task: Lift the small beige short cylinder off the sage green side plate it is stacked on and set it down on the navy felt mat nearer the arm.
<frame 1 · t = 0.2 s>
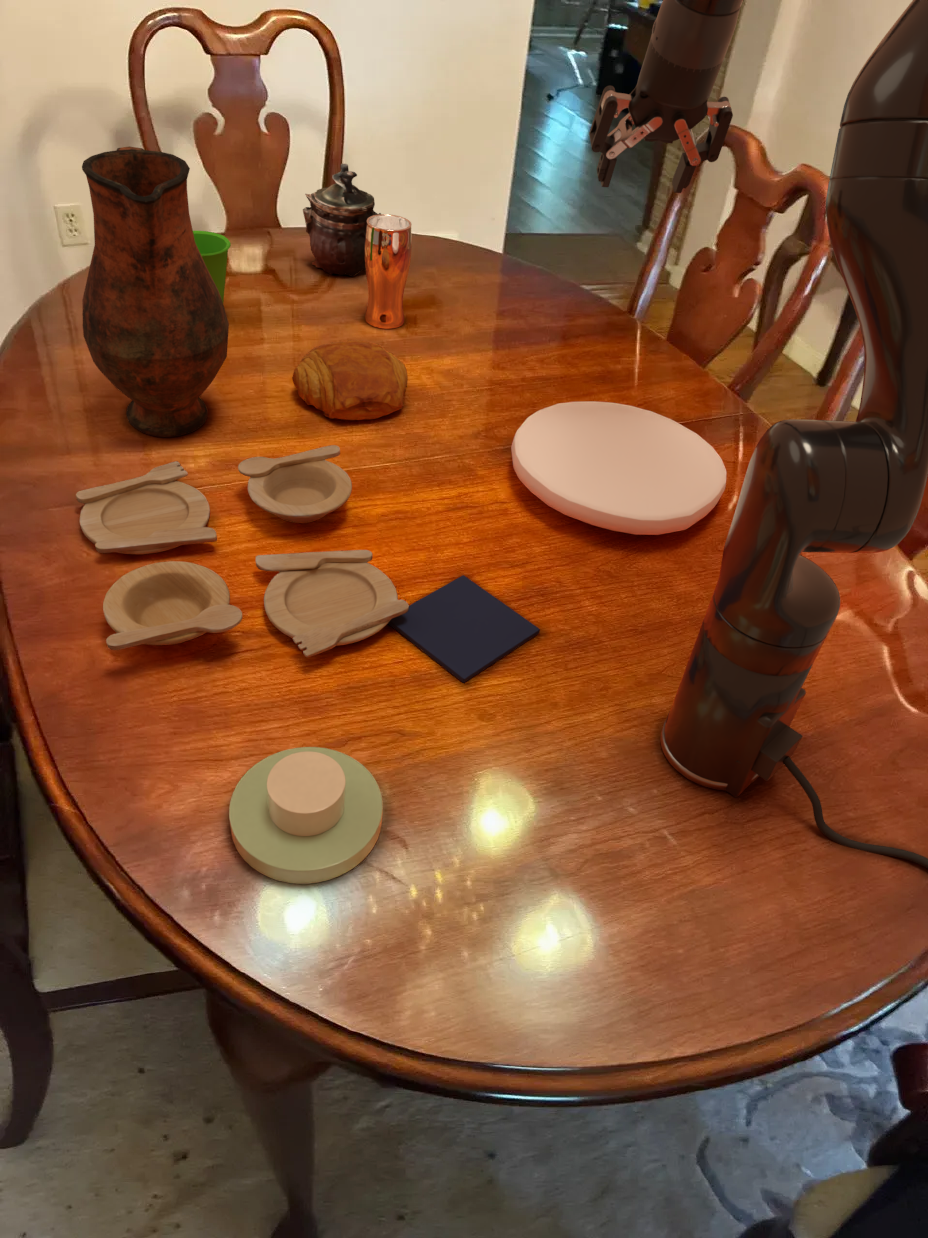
hand: (640, 185, 105), 31 cm above the table, tool tilted 20°, fingers open, 8 cm apart
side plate: (307, 818, 74), on the table, touching beige short cylinder
cup: (204, 316, 139), on the table
beige short cylinder: (306, 804, 73), point 2 cm above the table, touching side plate
pitcher: (166, 408, 119), on the table
white thick round disc: (612, 484, 116), on the table
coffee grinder: (344, 272, 157), on the table
croissant: (352, 399, 125), on the table
felt mat: (463, 628, 93), on the table
beer glass: (384, 321, 144), on the table
tableware set: (237, 562, 97), on the table, touching felt mat
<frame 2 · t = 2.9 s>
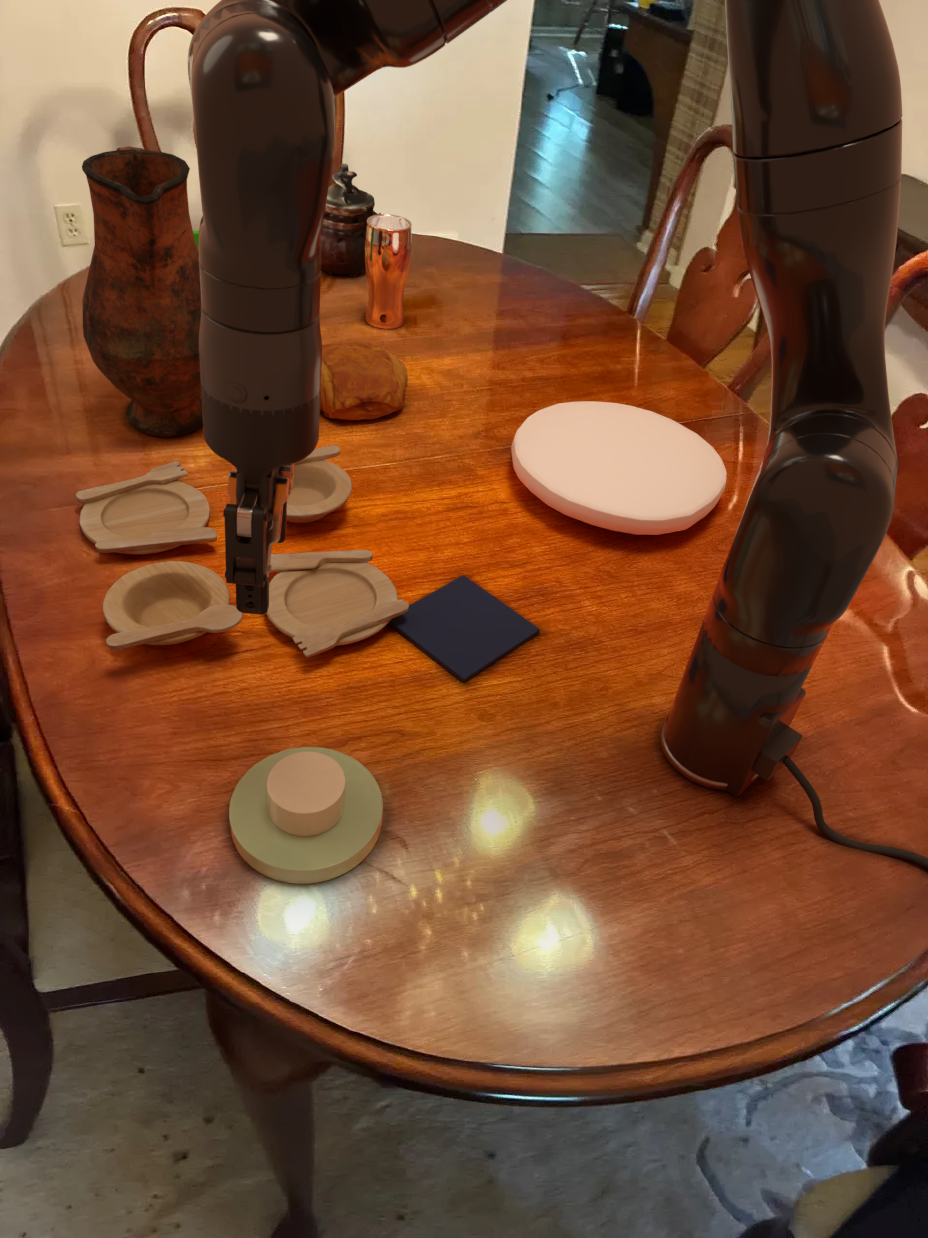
hand: (262, 573, 69), 17 cm above the table, tool pointing down, fingers open, 8 cm apart
nothing on the table moved.
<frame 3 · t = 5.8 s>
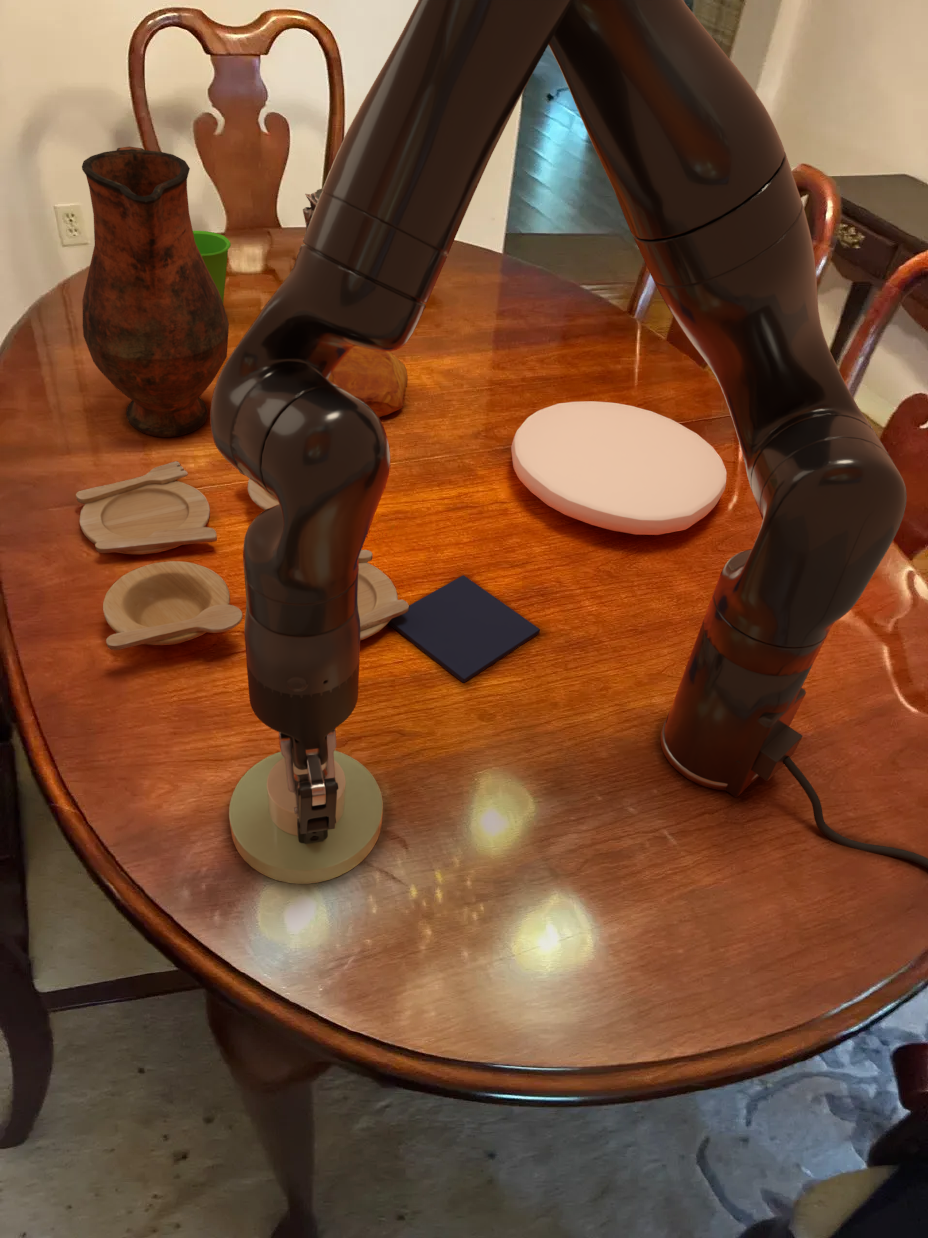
hand: (306, 802, 73), 2 cm above the table, tool pointing down, fingers closed on beige short cylinder, 6 cm apart
beige short cylinder: (306, 804, 73), point 2 cm above the table, touching gripper, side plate
everything else where it was.
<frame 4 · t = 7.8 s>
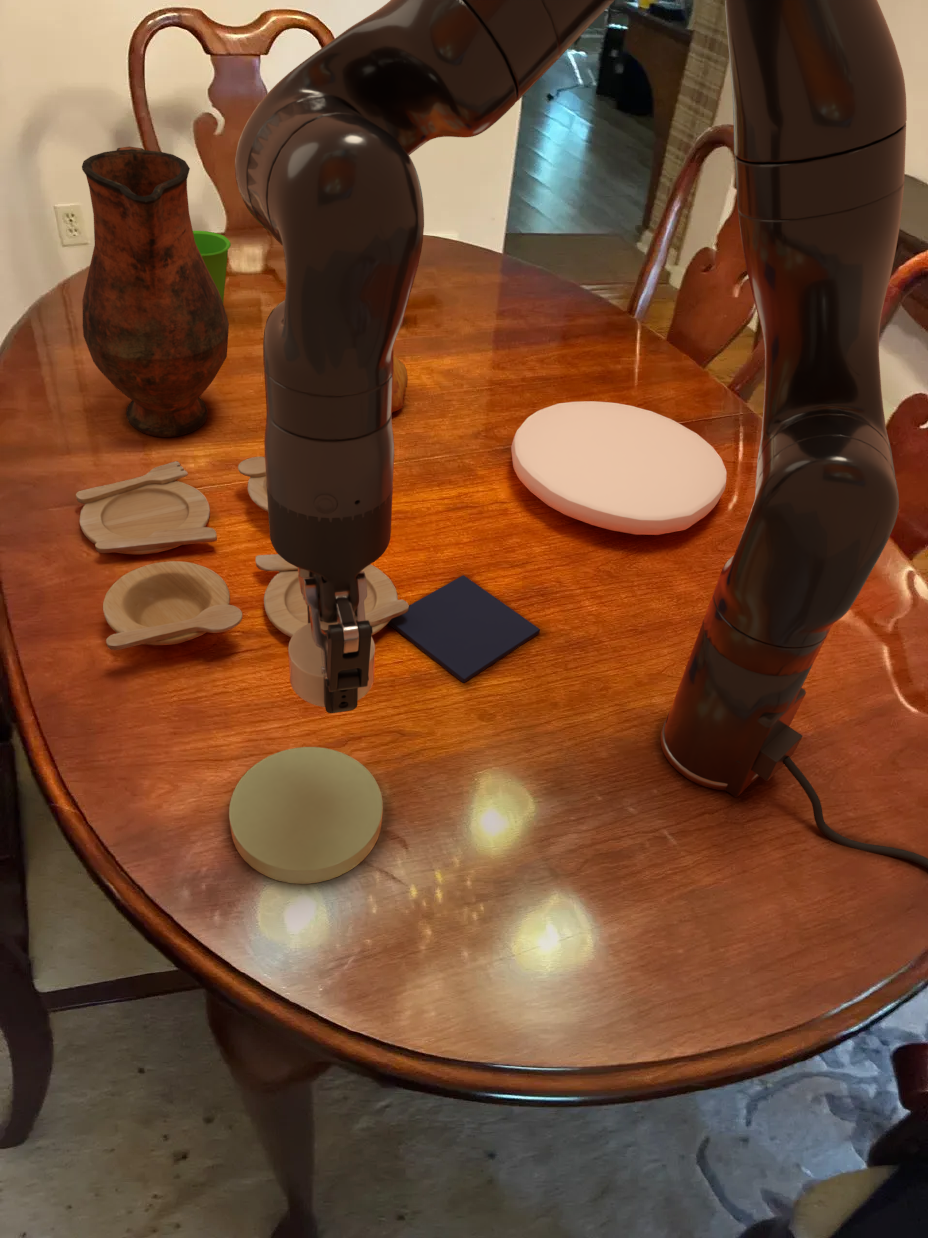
hand: (332, 674, 66), 15 cm above the table, tool pointing down, fingers closed on beige short cylinder, 6 cm apart
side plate: (307, 818, 74), on the table
beige short cylinder: (332, 677, 66), point 14 cm above the table, touching gripper
everything else where it was.
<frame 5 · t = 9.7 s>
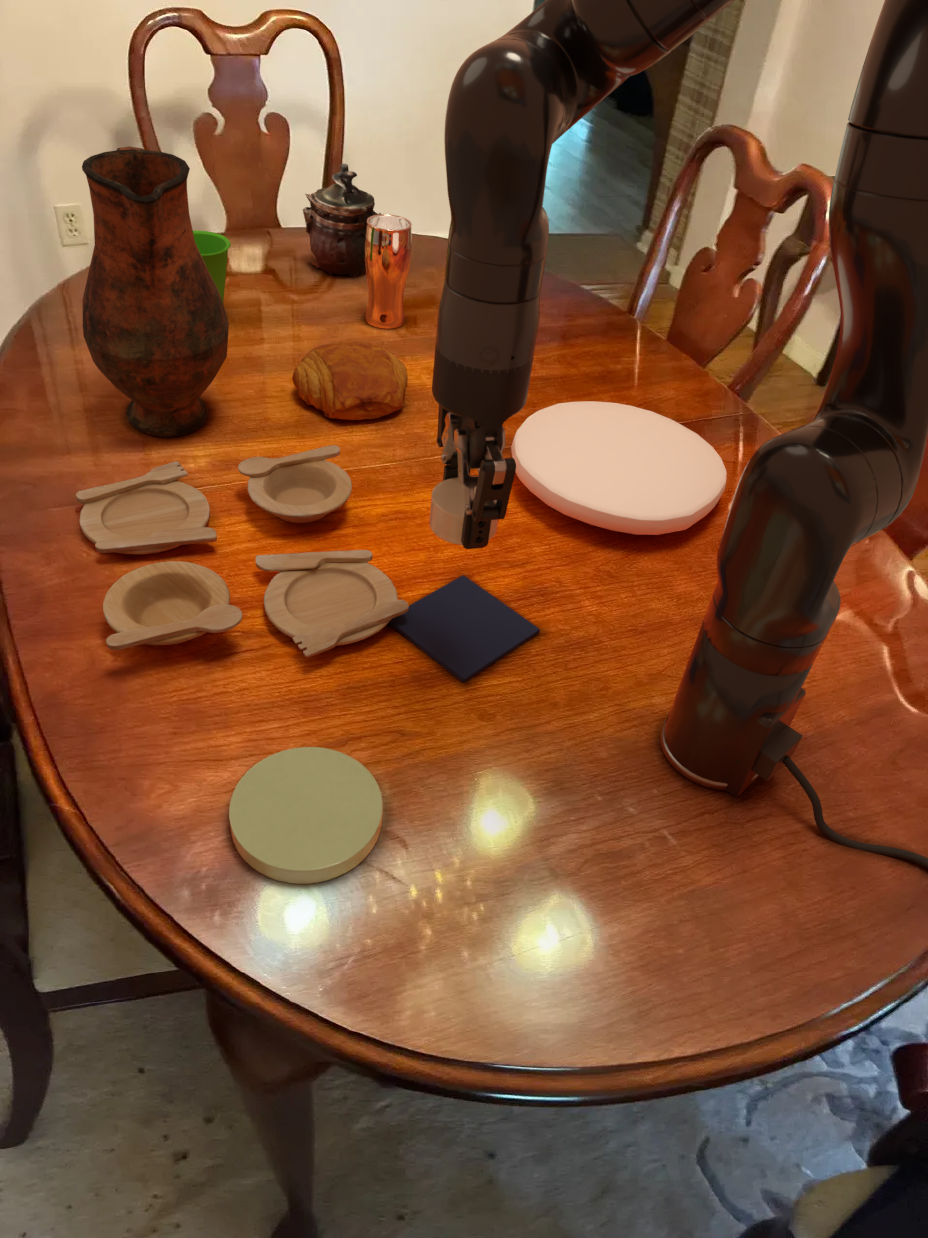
hand: (463, 522, 81), 15 cm above the table, tool pointing down, fingers closed on beige short cylinder, 6 cm apart
beige short cylinder: (463, 524, 81), point 15 cm above the table, touching gripper
everything else where it was.
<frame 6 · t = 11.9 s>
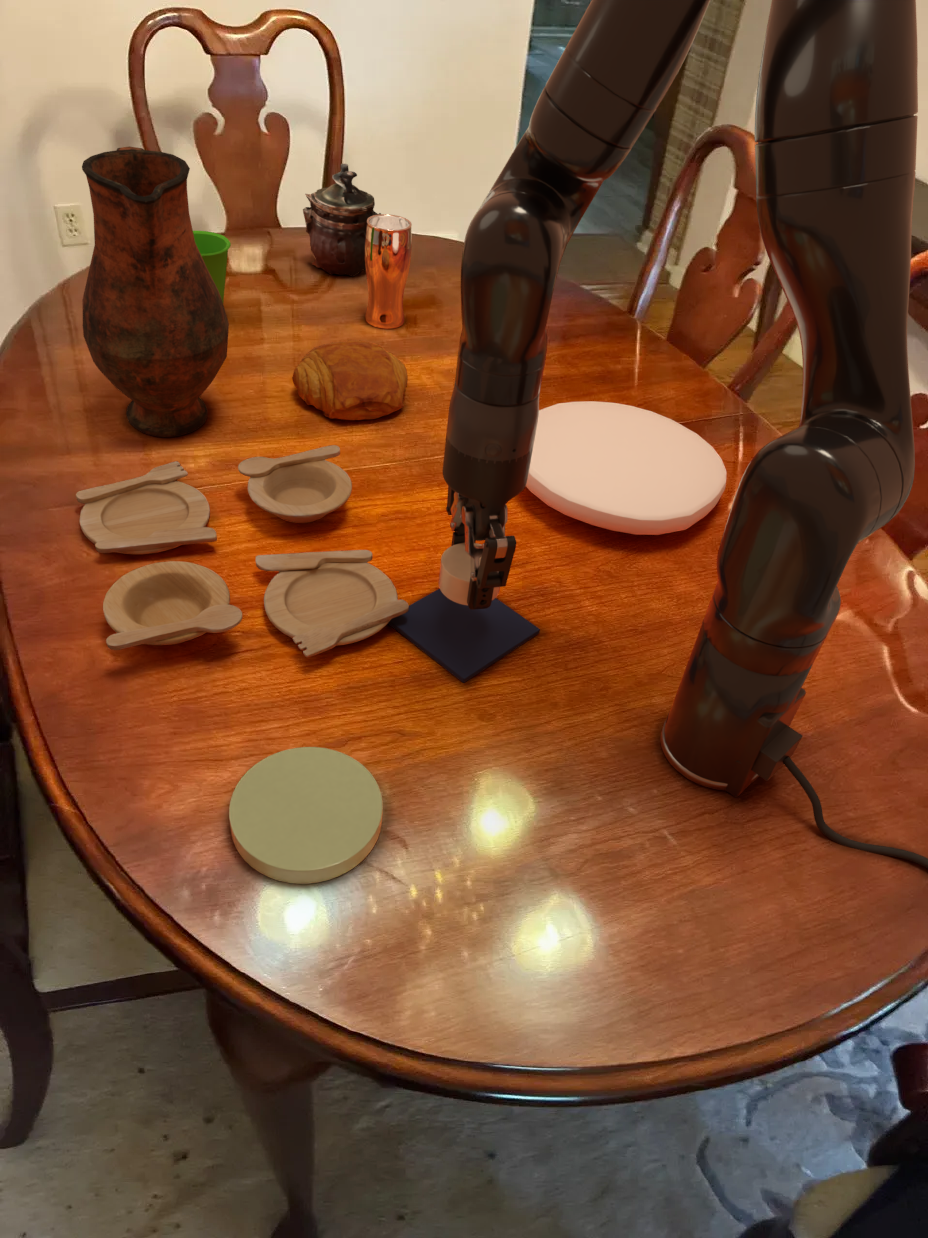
hand: (469, 583, 90), 6 cm above the table, tool pointing down, fingers closed on beige short cylinder, 6 cm apart
beige short cylinder: (469, 585, 90), point 5 cm above the table, touching gripper
everything else where it was.
when the fingers open (1 cm above the table, at t = 13.5 s): beige short cylinder stays where it is, resting on felt mat.
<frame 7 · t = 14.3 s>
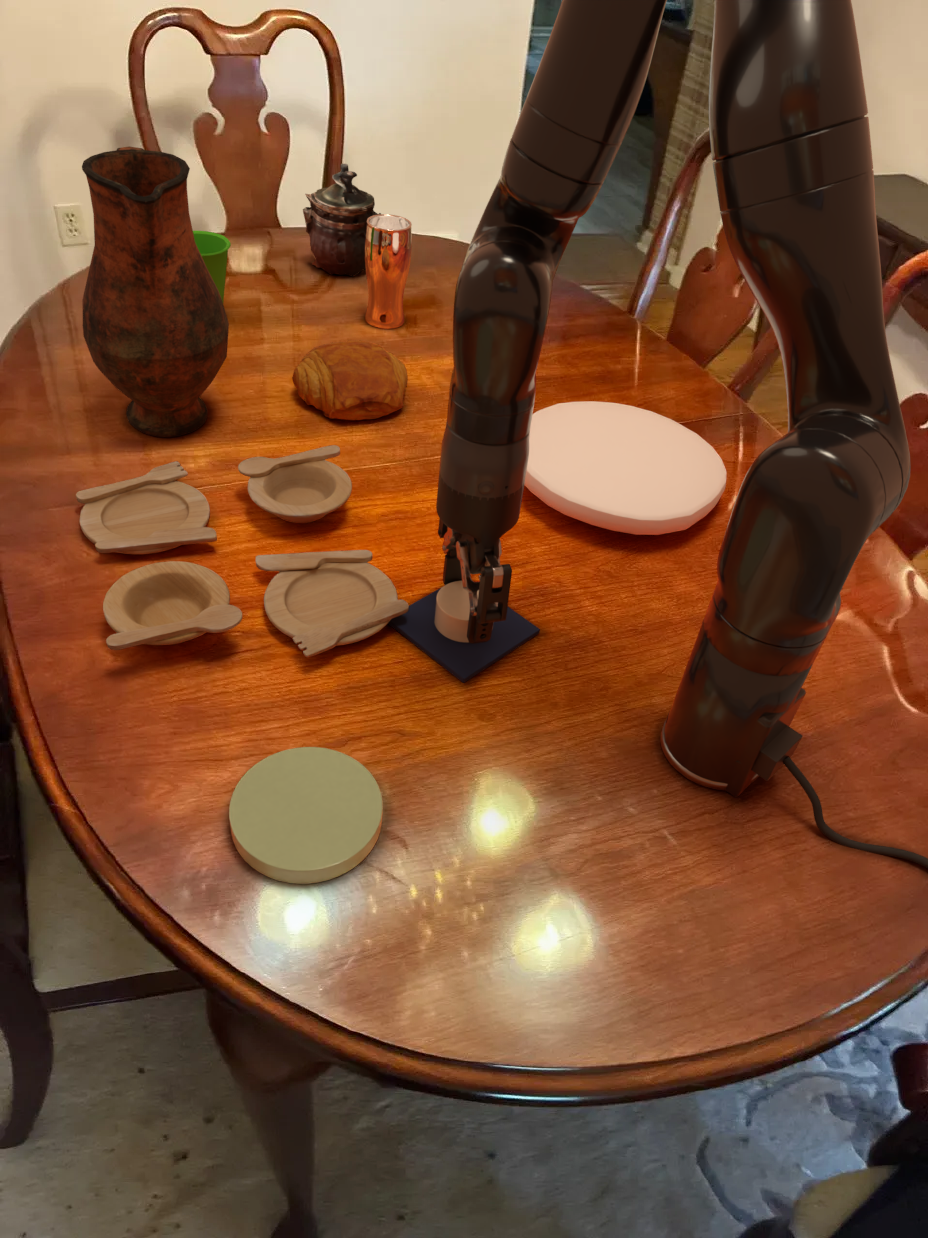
hand: (465, 611, 91), 3 cm above the table, tool pointing down, fingers open, 8 cm apart
beige short cylinder: (463, 622, 93), point 1 cm above the table, touching felt mat
everything else where it was.
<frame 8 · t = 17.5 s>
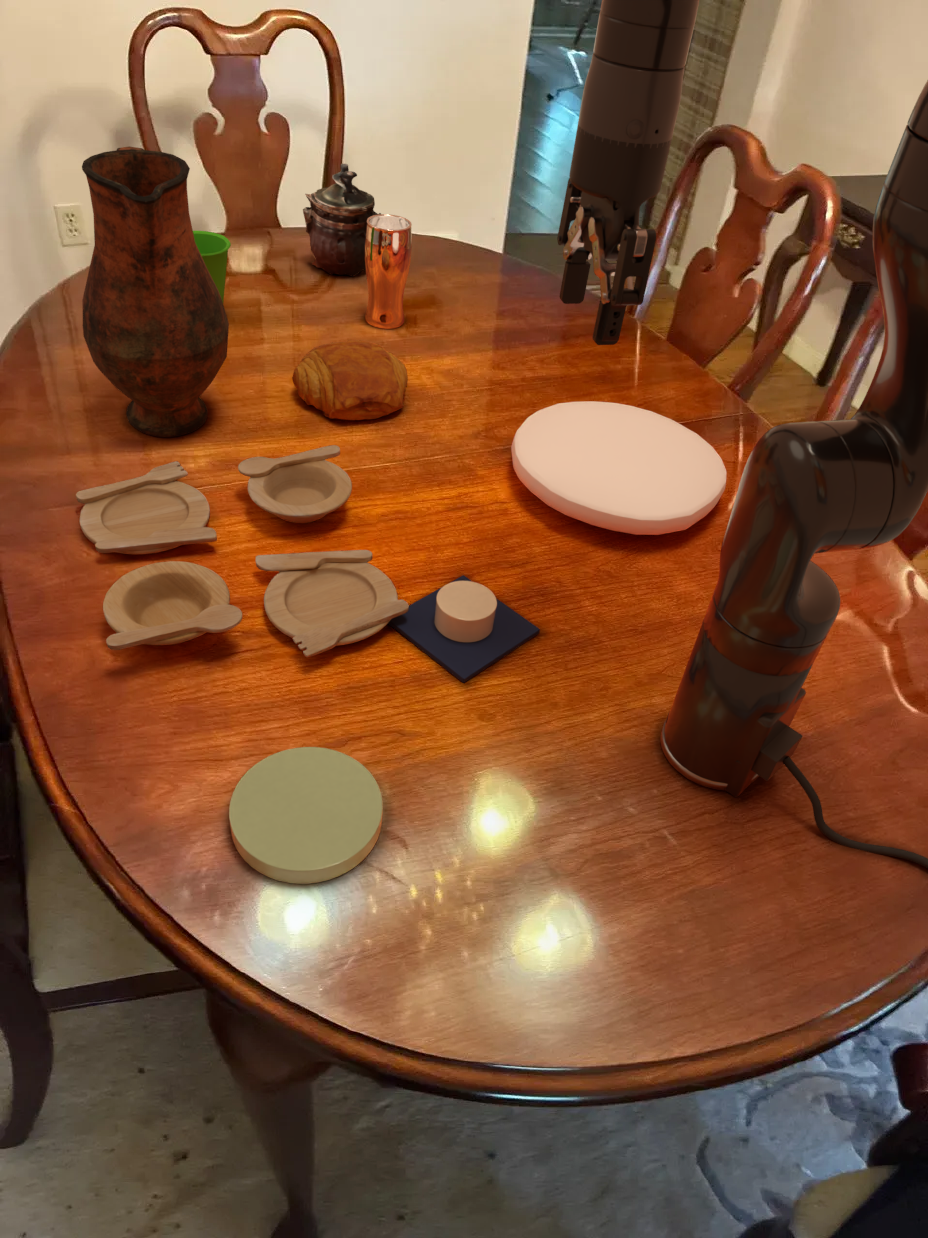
hand: (587, 321, 83), 28 cm above the table, tool pointing down, fingers open, 8 cm apart
nothing on the table moved.
at the end: beige short cylinder inside the target area on the felt mat (0.1 cm from its centre), point 0.6 cm above the felt mat's base; beige short cylinder tilted 0°; beige short cylinder touching felt mat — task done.
